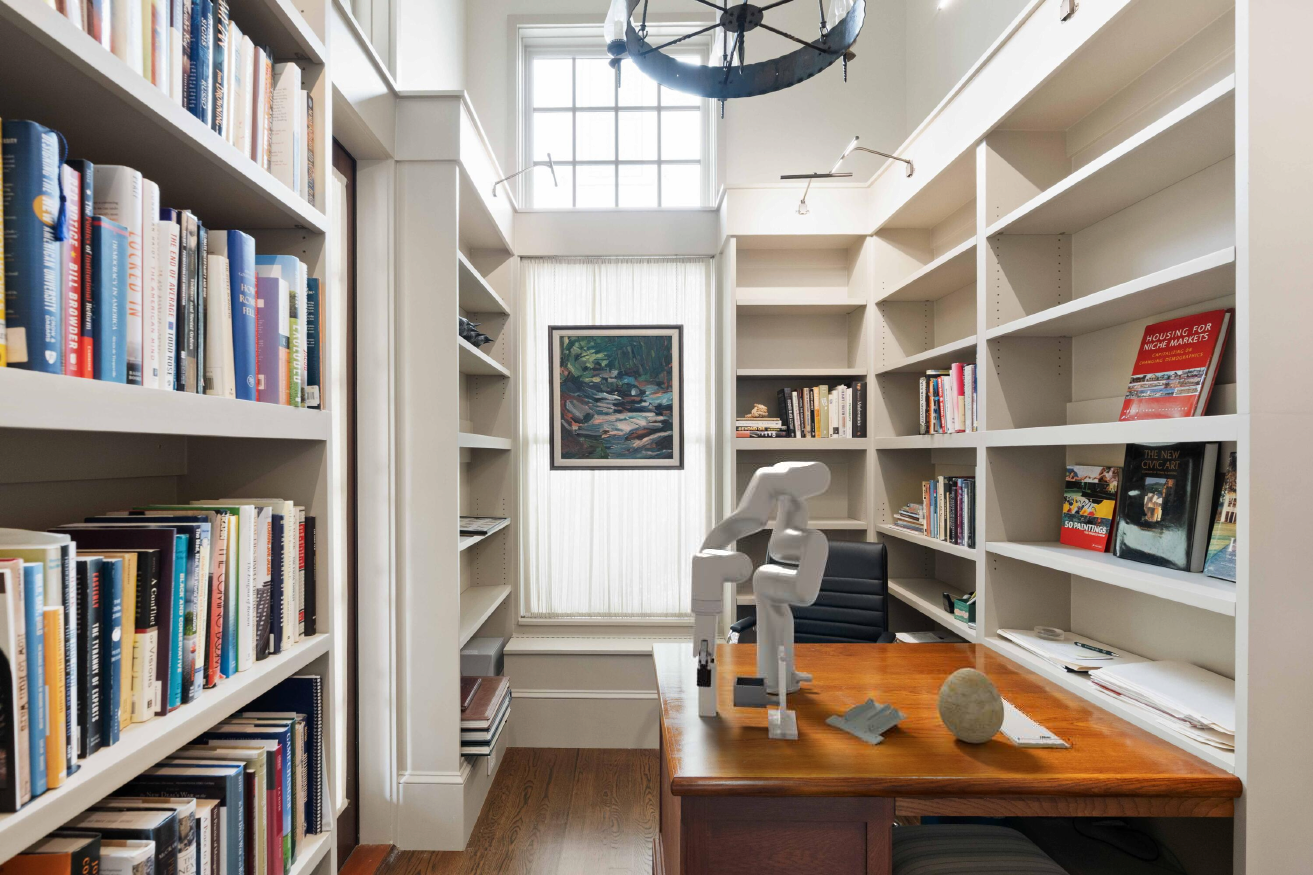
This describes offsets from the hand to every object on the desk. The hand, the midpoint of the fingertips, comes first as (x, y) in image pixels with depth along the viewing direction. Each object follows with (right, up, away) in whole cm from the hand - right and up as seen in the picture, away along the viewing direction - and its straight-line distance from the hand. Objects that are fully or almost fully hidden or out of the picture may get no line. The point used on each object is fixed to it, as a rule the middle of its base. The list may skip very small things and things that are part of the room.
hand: (705, 680), depth 163 cm
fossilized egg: (+55, -7, -16) cm, 57 cm away
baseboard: (+70, -8, -4) cm, 70 cm away
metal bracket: (+36, -8, -9) cm, 38 cm away
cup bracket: (+13, -7, -8) cm, 17 cm away
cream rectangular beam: (+1, -8, 0) cm, 8 cm away
